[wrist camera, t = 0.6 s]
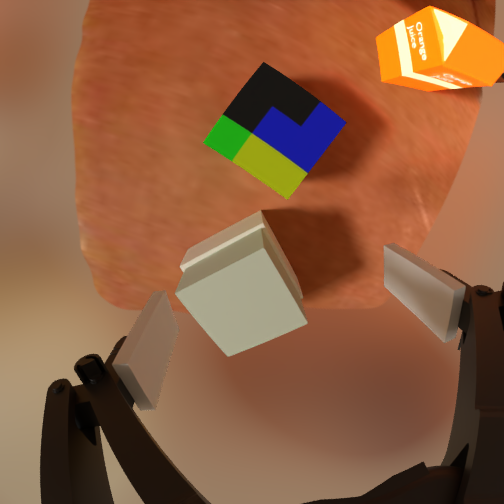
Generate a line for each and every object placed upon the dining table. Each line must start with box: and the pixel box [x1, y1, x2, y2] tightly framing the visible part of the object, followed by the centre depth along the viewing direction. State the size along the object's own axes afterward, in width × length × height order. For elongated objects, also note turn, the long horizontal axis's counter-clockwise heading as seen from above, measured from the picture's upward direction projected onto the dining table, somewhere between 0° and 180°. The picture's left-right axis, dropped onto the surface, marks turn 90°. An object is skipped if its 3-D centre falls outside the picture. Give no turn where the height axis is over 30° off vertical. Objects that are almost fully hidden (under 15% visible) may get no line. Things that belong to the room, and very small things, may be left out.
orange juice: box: [376, 6, 504, 91], centre depth 19 cm, size 8×9×20 cm
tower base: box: [180, 210, 303, 299], centre depth 38 cm, size 12×12×6 cm
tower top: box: [175, 228, 308, 356], centre depth 33 cm, size 11×11×6 cm
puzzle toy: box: [203, 62, 346, 200], centre depth 28 cm, size 10×10×10 cm
